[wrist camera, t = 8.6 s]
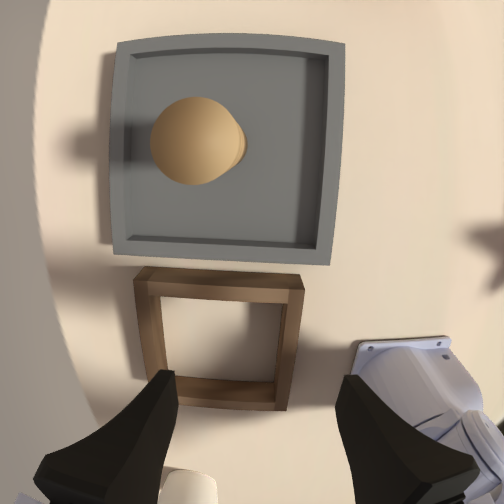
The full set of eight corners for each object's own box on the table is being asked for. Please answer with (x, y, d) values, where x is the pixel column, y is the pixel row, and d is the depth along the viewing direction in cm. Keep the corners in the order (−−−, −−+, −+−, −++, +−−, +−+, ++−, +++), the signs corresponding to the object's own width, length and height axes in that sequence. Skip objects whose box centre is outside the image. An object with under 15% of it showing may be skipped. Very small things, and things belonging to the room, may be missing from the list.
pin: (248, 121, 18) (240, 96, 9) (246, 169, 19) (237, 186, 10) (199, 120, 18) (151, 98, 9) (198, 168, 19) (149, 184, 10)
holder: (299, 274, 22) (304, 289, 19) (284, 390, 25) (286, 411, 23) (145, 266, 22) (133, 279, 19) (159, 381, 25) (151, 400, 23)
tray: (337, 52, 17) (345, 43, 15) (323, 255, 21) (329, 265, 19) (128, 50, 17) (117, 42, 15) (124, 245, 21) (113, 254, 19)
